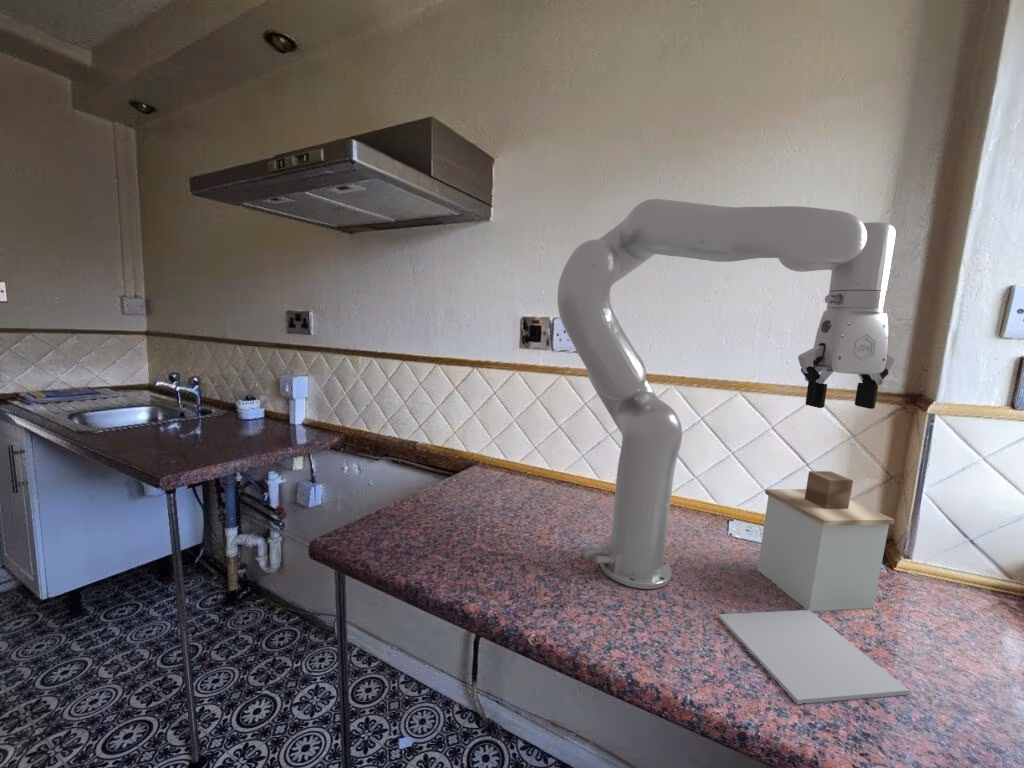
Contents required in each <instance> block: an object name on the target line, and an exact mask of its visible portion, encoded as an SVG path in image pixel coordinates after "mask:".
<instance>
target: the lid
mask: <svg viewBox="0 0 1024 768" xmlns="http://www.w3.org/2000/svg"><path fill="white" fill-rule="evenodd" d="M853 483H854V480H853V479H851V478H848V477H846V476H844V475H841V474H838V473H836V472H833V471H829V470H828V471H827V470H826V471H823V470H821V471H820V470H819V471H817V470H814V471H813V470H812V471H811V470H809V471H808V475H807V482H806V487H805V489H804V488H802V489H801V488H800V489H799V488H796V489H795V488H792V489H790V488H789V489H788V488H787V489H783V488H781V489H779V488H777V489H774V488H771V489H770V488H769V489H765V490H764V491H765V492H764V493H765V494H766V495H767V496H768V495H769V496H771V497H772V498H774V499H776V500H778V501H780V502H782V503H783V504H785V505H787V506H789V507H791V508H792V509H794V510H796V511H798V512H800V513H801V514H803V515H805V516H807V517H809V518H811V519H812V520H814V521H816V522H818V523H820V524H821V525H823V526H824V525H887V524H889V525H895V521H896V520H895V519H894V518H892V517H889V516H887V515H885V514H883V513H881V512H879V511H876V510H874V509H872V508H870V507H867V506H865V505H863V504H861V503H860V502H859V503H858V502H856V501H854V500H852V499H851V495H852V489H853Z"/></svg>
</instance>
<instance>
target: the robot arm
mask: <svg viewBox="0 0 1024 768" xmlns="http://www.w3.org/2000/svg"><path fill="white" fill-rule="evenodd" d="M896 235H897V232H896V228H895V226H894V225H892V224H890V223H888V222H879V221H876V222H875V221H873V222H863V221H862V220H861V219H860V218H858V217H857V216H856V215H853V214H852V213H849V212H847V211H841V210H835V209H827V208H819V207H811V206H789V205H782V206H777V205H776V206H739V207H738V206H736V207H735V206H723V205H715V204H705V203H699V202H698V203H697V202H696V203H695V202H689V201H688V202H687V201H681V200H673V199H665V198H664V199H663V198H653V199H652V198H651V199H645V200H644V201H641V202H640V203H638V204H637V205H636V206H634V207H633V208H632V210H631V211H630V213H628V215H627V216H626V218H624V219H623V220H622V221H621V222H620V223H619V224H617V225H615V227H613V228H611V230H610V231H608V232H607V233H605V234H604V235H602V236H601V237H600V238H599V239H590V240H587V241H584V242H582V243H581V244H579V245H578V246H577V247H576V248H575V249H574V250H573V251H572V253H571V255H570V256H569V258H568V260H567V262H566V264H565V265H564V267H563V270H562V272H561V275H560V277H559V281H558V287H557V308H558V309H557V310H558V313H559V317H560V321H561V324H562V325H563V328H564V329H565V332H566V334H567V336H568V338H569V339H570V342H571V343H572V344H573V347H574V348H575V351H576V353H577V355H578V356H579V357H580V359H581V361H582V362H583V364H584V366H585V368H586V372H587V376H588V379H589V381H590V383H591V385H592V387H593V389H594V390H595V392H596V394H597V396H598V397H599V399H600V400H601V402H602V404H603V405H604V407H605V409H606V410H607V412H608V414H609V415H610V417H611V419H612V420H613V422H614V423H615V425H616V427H617V428H618V430H619V432H620V434H621V435H622V437H621V440H622V441H621V447H620V453H619V457H618V463H617V472H616V482H615V493H614V503H613V515H612V524H611V525H612V526H611V533H610V539H605V541H604V542H605V543H604V544H601V545H599V546H598V547H596V546H585V547H584V549H583V554H584V558H585V559H594V561H595V564H596V565H599V566H600V568H601V570H602V571H603V572H604V574H605V575H606V576H608V577H609V578H610V579H612V580H613V581H615V582H618V583H619V584H621V585H624V586H627V587H631V588H634V589H644V590H655V589H658V588H659V589H660V588H662V587H665V586H666V585H668V584H669V583H670V582H671V579H672V572H673V571H672V567H671V566H670V565H669V563H668V562H666V560H665V554H666V552H665V551H666V545H667V536H668V526H669V518H670V510H671V500H672V491H673V482H674V476H675V470H676V464H677V460H678V456H679V452H680V450H681V449H680V448H681V445H682V440H683V428H682V423H681V420H680V418H679V416H678V415H677V413H676V412H675V410H674V409H673V408H672V407H671V406H670V405H668V404H667V403H666V402H664V401H663V400H662V399H660V398H658V396H657V395H656V393H655V391H654V389H653V388H652V386H651V385H650V383H649V381H648V379H647V370H646V366H645V363H644V361H643V360H642V358H641V357H640V355H639V354H638V353H637V351H636V349H635V348H634V346H633V345H632V343H631V341H630V340H629V338H628V336H627V335H626V333H625V332H624V330H623V328H622V326H621V325H620V322H619V320H618V318H617V316H616V314H615V313H614V310H613V307H612V305H611V299H610V297H611V296H610V294H611V288H612V286H613V285H614V284H616V283H617V282H618V281H620V280H621V279H623V278H624V277H625V276H627V275H628V274H630V273H632V272H633V271H634V270H636V269H637V268H638V267H640V266H641V265H643V264H644V263H646V261H648V260H649V259H650V258H652V257H653V256H655V255H658V256H659V255H661V256H668V257H677V258H678V257H680V258H685V259H695V260H696V259H697V260H702V261H708V262H709V261H710V262H717V263H719V262H725V263H726V262H727V263H728V262H738V261H739V262H740V261H747V260H755V259H778V260H779V263H780V264H781V265H783V267H784V268H785V269H786V268H787V269H788V270H791V271H793V272H799V273H800V272H803V273H805V272H806V273H807V272H815V271H817V272H818V271H831V275H830V282H829V291H828V294H827V295H825V296H824V297H825V298H824V303H826V304H827V305H826V310H825V311H823V313H822V316H821V319H820V321H819V325H818V328H817V331H816V336H815V340H814V345H813V347H812V348H811V349H809V350H808V349H807V350H806V351H805V352H803V353H800V354H799V355H798V357H797V359H798V363H799V365H800V367H801V368H800V371H801V373H802V374H803V376H804V380H805V381H806V382H808V383H807V389H806V396H805V405H806V406H810V407H814V408H818V409H823V408H824V407H825V403H826V398H827V397H826V396H827V390H828V384H827V383H825V382H826V380H828V378H830V376H831V375H832V374H833V373H838V374H850V375H858V377H859V379H860V381H861V382H858V383H857V387H856V393H855V398H854V405H855V406H856V407H861V408H865V409H870V410H872V409H873V410H874V409H875V408H876V404H877V403H876V402H877V397H878V390H879V386H882V385H883V383H884V381H883V380H884V379H885V378H886V377H887V376H888V375H889V371H890V370H891V368H892V366H893V365H894V363H895V359H894V358H893V357H892V356H890V355H889V354H888V345H889V321H888V320H889V319H888V314H887V313H884V309H885V305H886V304H885V303H886V296H887V292H888V285H889V278H890V273H891V268H892V259H893V254H894V248H895V241H896Z"/></svg>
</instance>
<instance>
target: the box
mask: <svg viewBox="0 0 1024 768" xmlns="http://www.w3.org/2000/svg"><path fill="white" fill-rule="evenodd" d="M767 496H768V497H767V503H766V511H765V517H764V523H763V531H762V537H761V545H760V551H759V557H758V565H757V572H759V573H760V572H761V573H762V574H761V573H760V574H761V575H762V576H763V577H765V578H766V577H767V578H766V579H768V580H769V579H770V580H771V581H772V582H771V581H770V580H769V581H770V582H771V583H772V584H774V583H775V584H776V585H777V586H776V587H777V588H779V589H780V588H781V589H782V592H784V593H785V594H786V595H787V596H789V597H790V598H791V599H792V600H793V601H795V602H796V603H798V604H799V605H800V606H801V607H802V606H803V607H802V608H804V610H810V611H811V612H812V613H813V612H828V611H845V610H846V611H849V610H864V609H865V610H866V609H867V610H869V609H874V606H875V600H876V596H877V590H878V586H879V579H880V576H881V575H880V574H881V569H882V563H883V560H884V559H883V558H884V553H885V548H886V543H887V538H888V532H889V527H890V524H887V525H824V526H823V525H821V524H820V523H818V522H816V521H814V520H812V519H811V518H809V517H807V516H805V515H803V514H801V513H800V512H798V511H796V510H794V509H792V508H791V507H789V506H787V505H785V504H783V503H782V502H780V501H778V500H776V499H774V498H772V497H771V496H769V495H767ZM775 584H774V585H775ZM781 589H780V590H781Z"/></svg>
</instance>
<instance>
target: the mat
mask: <svg viewBox="0 0 1024 768" xmlns="http://www.w3.org/2000/svg"><path fill="white" fill-rule="evenodd" d="M717 618H719V619H720V620H721V621H722V622H723V623H722V622H721V621H720V620H719V621H720V622H721V623H722V624H723V625H724V624H725V625H724V626H725V627H726V629H727V630H728V631H729V630H730V631H731V632H730V631H729V632H730V633H731V634H732V633H733V634H732V635H733V636H734V635H735V636H734V637H735V638H736V639H737V641H739V643H740V642H741V643H742V644H743V645H744V646H745V647H746V648H745V647H744V646H743V645H742V644H741V643H740V644H741V645H742V646H743V647H744V648H745V649H746V650H747V649H748V650H747V652H749V654H750V655H751V654H752V655H753V656H754V657H755V658H756V659H757V660H758V661H759V662H760V663H759V662H758V661H757V660H756V659H755V658H754V657H753V656H752V655H751V656H752V657H753V658H754V659H755V660H756V661H757V662H758V663H759V664H760V665H761V664H762V665H761V667H762V666H763V667H764V668H765V669H766V670H767V671H768V672H767V671H766V670H765V669H764V668H763V667H762V668H763V669H764V670H765V671H766V672H767V673H768V674H769V673H770V674H769V675H770V676H771V675H772V676H771V678H772V679H773V678H774V679H775V680H776V681H777V682H778V683H779V684H778V683H777V682H776V681H775V680H774V679H773V680H774V681H775V682H776V683H777V684H778V685H779V686H780V688H781V689H782V690H783V691H784V690H785V691H786V692H787V693H788V694H789V695H788V694H787V693H786V692H785V691H784V692H785V693H786V694H787V695H788V696H789V697H790V698H791V699H792V700H793V702H794V703H795V702H796V703H797V704H796V705H804V704H803V703H806V704H816V703H826V702H839V701H849V700H861V699H872V698H874V699H875V698H882V697H883V698H885V697H893V696H894V697H897V696H908V695H909V694H910V689H909V688H907V687H906V686H905V685H904V684H902V683H901V682H900V681H899V680H898V679H896V678H895V677H894V676H893V675H891V674H890V673H889V672H887V671H886V669H883V668H882V667H881V666H880V665H879V664H878V663H876V662H875V661H874V660H872V658H870V657H869V656H867V654H865V653H864V652H862V651H861V650H860V649H858V648H857V647H856V646H855V645H854V644H853V643H851V642H850V641H849V640H847V639H846V638H845V637H844V636H842V635H841V634H840V633H839V632H838V631H836V630H835V629H834V628H833V627H831V626H830V625H829V624H827V622H825V621H824V620H822V619H821V618H820V617H819V616H817V614H815V612H813V611H812V612H811V611H810V610H806V609H803V610H800V609H799V610H783V611H782V610H780V611H761V612H743V613H740V612H739V613H724V614H723V613H722V614H721V613H720V614H718V615H717Z"/></svg>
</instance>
